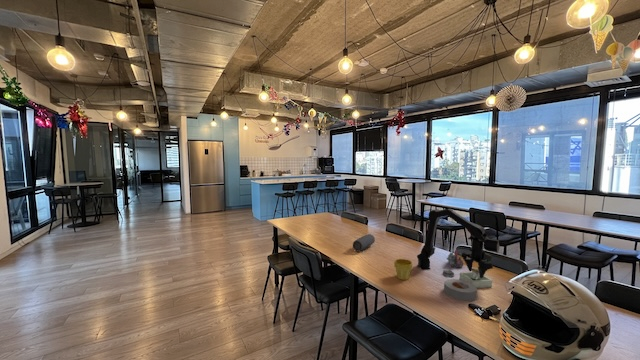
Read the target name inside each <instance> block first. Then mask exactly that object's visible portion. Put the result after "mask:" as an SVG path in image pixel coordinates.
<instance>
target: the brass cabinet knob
mask: <svg viewBox="0 0 640 360" xmlns="http://www.w3.org/2000/svg"><path fill="white" fill-rule="evenodd" d="M471 272H472V278H471V279H472V280H473V281H474V280H480V279H479V270H478V268H473V267H472V271H471Z"/></svg>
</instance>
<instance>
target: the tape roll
mask: <svg viewBox="0 0 640 360" xmlns="http://www.w3.org/2000/svg"><path fill="white" fill-rule="evenodd" d="M443 284H444V286H443V292H444V294H445V295H446V296H447V297H449V298H451V299H454V300H456V301H459V302H465V303H466V302H468V303H469V302H474V301H476V300H477V298H478V295H477V294H478V288H476V286H475V285H473V284H472V283H470V282H467V281H464V280H460V279H458V278H457V279H456V278H449V279H446V280H445V281H444V283H443Z"/></svg>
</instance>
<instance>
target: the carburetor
mask: <svg viewBox="0 0 640 360" xmlns="http://www.w3.org/2000/svg"><path fill="white" fill-rule="evenodd" d="M446 260H447V263H448V264H449V265H450V266H451V267H452V268H463V267H464V260H463V258H462V256H458V250H457V249H455V252H449V254H448V256H447V257H446Z"/></svg>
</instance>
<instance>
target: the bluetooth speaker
mask: <svg viewBox="0 0 640 360" xmlns="http://www.w3.org/2000/svg"><path fill="white" fill-rule="evenodd" d="M375 241H376V240H375V236H374V235H373V234H371V233H368V234H365V235H362V236H361V237H359V238H358V239H355V240H354V241H353V243H352V248H353V249H354V251H356V252H361V251H362V252H364V251H365V250H367V249H368V248H369V247H370V246H372V245H373V244H374V243H375Z"/></svg>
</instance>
